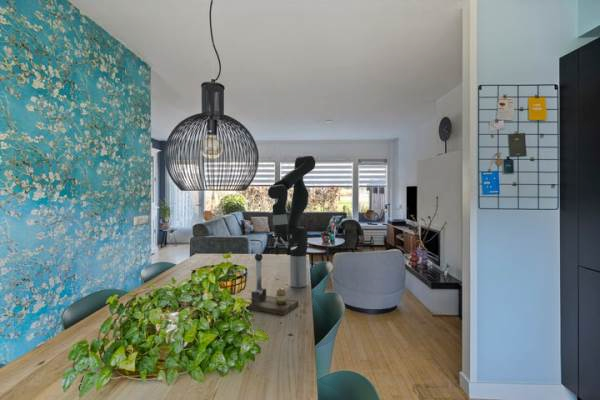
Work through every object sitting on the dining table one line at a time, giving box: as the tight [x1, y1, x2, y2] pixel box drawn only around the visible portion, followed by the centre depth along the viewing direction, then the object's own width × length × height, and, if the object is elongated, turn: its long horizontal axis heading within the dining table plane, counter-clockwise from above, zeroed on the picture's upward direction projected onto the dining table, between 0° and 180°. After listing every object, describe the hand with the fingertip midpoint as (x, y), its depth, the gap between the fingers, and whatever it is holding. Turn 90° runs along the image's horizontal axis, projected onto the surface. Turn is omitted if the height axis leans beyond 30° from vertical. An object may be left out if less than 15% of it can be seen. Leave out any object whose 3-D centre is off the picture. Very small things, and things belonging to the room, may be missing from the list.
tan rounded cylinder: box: [275, 287, 287, 305], centre depth 140 cm, size 4×4×7 cm
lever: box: [254, 252, 264, 295], centre depth 145 cm, size 4×4×20 cm
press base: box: [246, 287, 299, 316], centre depth 142 cm, size 14×22×6 cm, turn 63°
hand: (283, 254), depth 161 cm, fingers open, 8 cm apart
